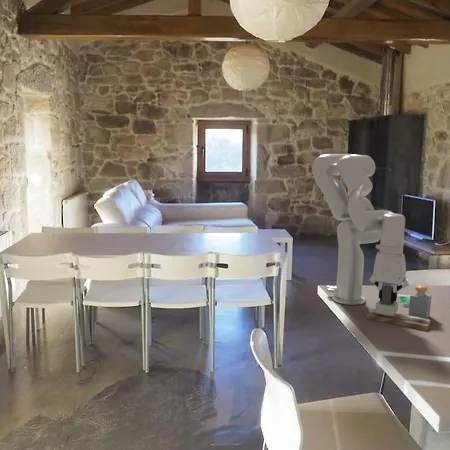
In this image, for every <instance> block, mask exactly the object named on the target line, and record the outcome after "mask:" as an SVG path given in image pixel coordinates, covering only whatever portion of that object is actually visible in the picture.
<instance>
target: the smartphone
mask: <svg viewBox="0 0 450 450" xmlns="http://www.w3.org/2000/svg"><path fill="white" fill-rule="evenodd" d="M410 295H411V294H405V293H402V294H401V293H397V297H398V298H397V300H398V302H400V303H401V306H402V307H403V308H409V305H410Z"/></svg>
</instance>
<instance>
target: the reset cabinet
mask: <svg viewBox="0 0 450 450" xmlns="http://www.w3.org/2000/svg"><path fill="white" fill-rule="evenodd" d="M409 295H410V305H409V307H408V316H414V317H419V318H424V319H429V317H430V316H431V305H432V304H431V303H432V293H426V292H425V297H422V296H417V291H412V293H411V294H409Z"/></svg>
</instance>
